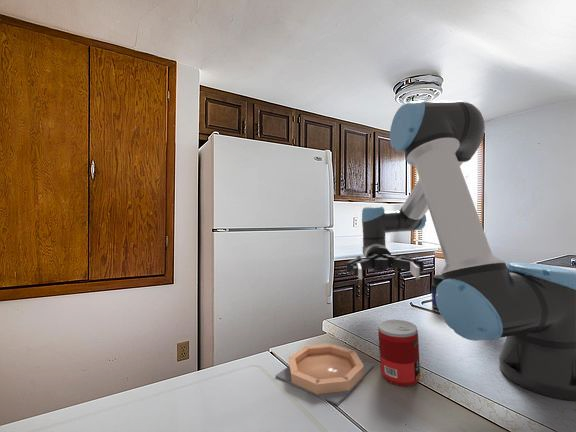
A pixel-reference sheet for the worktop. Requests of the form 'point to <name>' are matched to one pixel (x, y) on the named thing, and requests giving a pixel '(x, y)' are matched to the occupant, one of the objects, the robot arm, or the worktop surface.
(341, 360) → the bowl
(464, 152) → the robot arm
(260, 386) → the worktop surface
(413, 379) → the canned food
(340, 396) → the mat
